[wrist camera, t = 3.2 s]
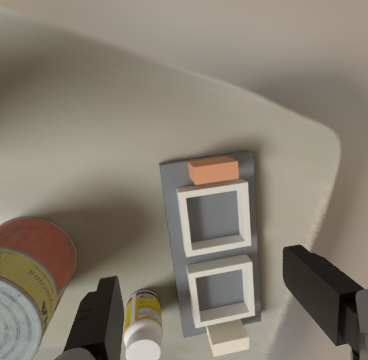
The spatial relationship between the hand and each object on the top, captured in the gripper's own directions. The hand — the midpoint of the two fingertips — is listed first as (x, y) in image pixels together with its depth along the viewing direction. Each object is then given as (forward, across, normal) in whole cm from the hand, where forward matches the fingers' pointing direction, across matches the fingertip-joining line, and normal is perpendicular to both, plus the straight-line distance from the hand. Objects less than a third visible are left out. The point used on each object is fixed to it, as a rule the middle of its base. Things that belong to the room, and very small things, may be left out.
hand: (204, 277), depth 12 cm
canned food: (+22, +18, +9) cm, 30 cm away
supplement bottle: (+22, +5, +18) cm, 29 cm away
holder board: (+22, -6, +11) cm, 25 cm away
